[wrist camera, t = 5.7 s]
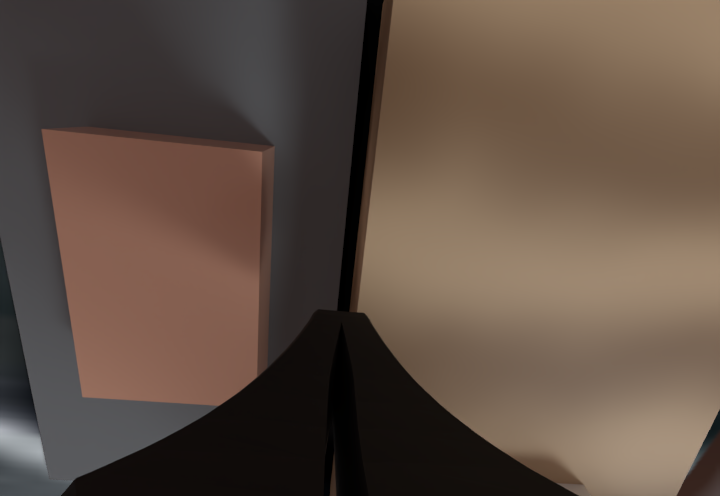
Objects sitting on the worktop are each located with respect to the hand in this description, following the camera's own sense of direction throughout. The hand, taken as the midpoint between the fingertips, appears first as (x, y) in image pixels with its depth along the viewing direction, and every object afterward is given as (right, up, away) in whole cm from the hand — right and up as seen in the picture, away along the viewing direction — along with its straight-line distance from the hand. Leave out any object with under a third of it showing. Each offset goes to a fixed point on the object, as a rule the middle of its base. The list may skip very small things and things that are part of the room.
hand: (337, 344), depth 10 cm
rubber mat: (-6, +1, +5) cm, 8 cm away
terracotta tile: (-6, +1, +2) cm, 6 cm away
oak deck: (+6, 0, +5) cm, 8 cm away
